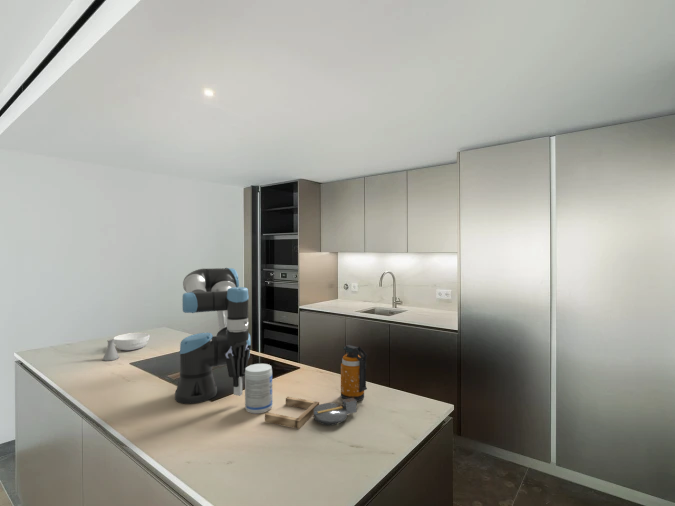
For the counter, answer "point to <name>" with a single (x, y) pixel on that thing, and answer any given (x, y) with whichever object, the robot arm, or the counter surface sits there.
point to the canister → (353, 373)
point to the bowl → (131, 341)
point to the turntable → (334, 411)
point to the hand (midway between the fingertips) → (238, 394)
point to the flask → (110, 351)
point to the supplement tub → (258, 388)
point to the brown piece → (291, 420)
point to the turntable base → (329, 424)
